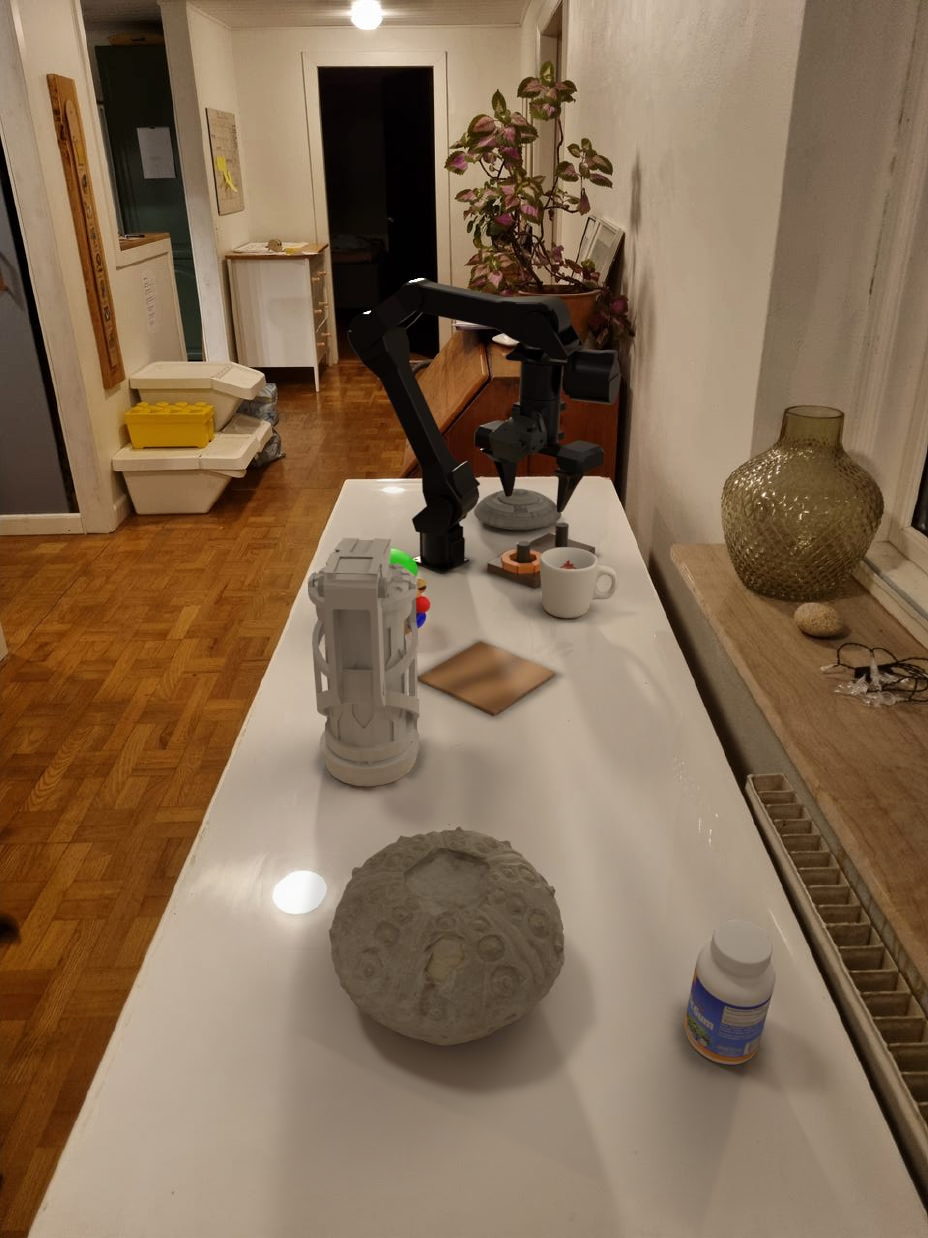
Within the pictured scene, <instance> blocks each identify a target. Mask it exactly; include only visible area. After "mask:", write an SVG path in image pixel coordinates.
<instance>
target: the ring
mask: <svg viewBox="0 0 928 1238" xmlns="http://www.w3.org/2000/svg"><path fill="white" fill-rule="evenodd" d="M541 555H542V553H539V552H536V551H533V550H530V560H531V561H534V562H532V563H517V562H514V561H513V560H515V559H516V557H517V548H515V549H510V550H507V551H505V552H503V553H502V554H501V555H500V556H501V564H502V567H503V568H504V569H505V570H508V571H511V572H514V573H517V572H518V574H525V573H533V572H534V573H536V572H538V571H540V556H541Z"/></svg>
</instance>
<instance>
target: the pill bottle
mask: <svg viewBox="0 0 928 1238" xmlns="http://www.w3.org/2000/svg"><path fill="white" fill-rule="evenodd" d="M772 955H773V943H772V940H771V938H770V936H769V935H768V933H767V932H766V931H765V930H764V929H763V928H761V927H759V926H758V925H757V924H755V923H753V922H750V921H748V920H744V919H739V918H736V919H735V918H734V919H727V920H724V921H722V922H720V923H719V924H717V925H716V926H715V928H714V930H713V933H712V937H711V940H710V941H708V942H707V943H705V944H704V945H703V946H702V947H701V949H700V951H699V952H698V955H697V958H696V961H695V966H694V972H693V976H692V982H691V987H690V992H689V997H688V1002H687V1008H686V1014H685V1019H684V1029H685V1034H686V1037H687V1039H688V1041H689V1043H690V1044H691V1046H692V1047H693V1048H694V1049H695V1050H696V1051H697V1052H698V1053H699V1054H700V1055H702V1056H703V1057H705V1058H706V1059H708V1060H710V1061H713V1062H715V1063H719V1064H724V1065H730V1066H731V1065H740V1064H743V1063H746V1062H748V1061H749V1060H750V1059H752V1058H753V1057H754V1056H755V1055H756V1053H757V1052H758V1049H759V1046H760V1043H761V1039H762V1035H763V1031H764V1027H765V1023H766V1021H767V1020H766V1019H767V1015H768V1013H769V1008H770V1004H771V1001H772V997H773V993H774V989H775V985H776V971H775V967H774V965H773V963H772V961H771V960H772Z"/></svg>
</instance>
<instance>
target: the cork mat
mask: <svg viewBox="0 0 928 1238" xmlns="http://www.w3.org/2000/svg"><path fill="white" fill-rule="evenodd" d="M555 676H556V672H555V671H553V670H551V669H549V668H547V667H544V666H542V665H539V664H537V663H534V662H531V661H530V660H527V659H524V658H522V657H520V656H517V655H515V654H512V653H511V652H508V651H506V650H503V649H501V648H498V647H496V646H493V645H491V644H488V643H486V642H484V641H481V640H479V641H478V642H475V643H474V644H473V645H471V646H469V647H467V648H465V649H464V650H462V651H460V652H459V653H457V654H455V655H453V656H451V657H450V658H448V659H446V660H445V661H443V662H441V663H439V664H438V665H436V666H434V667H432V668H430V669H428V670H427V671H426V672H424V673H421V674H420V675H417V681H420V682H422V683H424V684H426V685H428V686H430V687H433V688H435V689H437V690H438V691H441V692H444V693H445V694H448V695H450V696H451V697H454V698H456V699H458V700H460V701H463V702H464V703H466V704H469V705H471V706H472V707H476V708H477V709H480V710H481V711H483V712H486V713H488V714H491V715H492V716H496V715H498V714H500V713H501V712H502V711H504V710H505V709H507V708H508V707H510V706H511V705H513V704H514V703H516V702H517V701H519V700H520V699H522V698H523V697H525V696H526V695H528V694H530V692H533V690H535V689H536V688H538V687H540V686H541V685H543V684H544V683H546V682H547V681H549V680H550V679H551V678H553V677H555Z"/></svg>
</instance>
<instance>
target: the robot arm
mask: <svg viewBox="0 0 928 1238" xmlns="http://www.w3.org/2000/svg"><path fill="white" fill-rule="evenodd" d="M422 314H425V315H430V316H436V317H440V318H445V319H448V320H449V319H450V320H454V321H459V322H463V323H469V324H473V325H476V326H477V325H478V326H482V327H486V328H491V329H494V330H497V331H498V332H501V334H504V335H505V336H506V337H508V338H510V339H511V340H513V341H516V342H517V343H516V345H515V347H514V348H513V349H511V351H510V352H508V353H507V354H505V360H506V361H512V362H519V363H520V371H519V374H520V375H519V394H518V401H517V402H514V403H512V407H511V411H510V416H509V418H508V419H506V420H504V421H503V420H499V419H497V420H493V421H491V422H488V423H484V424H482V425H479V426H478V427H477V428H476V429H475V432H474V433H473V435H474V437H473V446H474V447H477V448H480V452H481V453H482V454H483V455H486V456H487V457H488V458H489V459H490V460H492V462H493V463H494V466H495V469H496V471H497V474H498V477H499V480H500V483H501V486H502V490H504V493H505V496H506V497H510V496H512V493H513V489H515V484H516V478H517V470H518V463H520V462H522V461H523V460H524V459H525V458H526V456H527V455H530V456H535V455H536V454H540V455H545V456H549V457H553V458H555V459H556V460H555V463H556V465H557V467H558V468H557V469H555V470H553V471H554V473H555V475H556V477H557V480H558V481H557V492H556V493H557V494H556V505H557V512H558V513H560V512H561V513H563V512H564V511H565V509H566V507H567V505H568V503H569V501H570V499H571V498H572V496H573V495H574V492H575V491H576V489H577V487H578V485H579V483H580V482H581V480H583V478H584V476H585V475H586V473H589V472H591V471H593V470H595V469H597V468H600V467H602V466H604V460H605V459H604V458H605V452H604V449H603V448H602V446H601V445H600V444H596V443H593V442H588V441H584V440H580V439H579V440H576V441H574V442H570V443H568V444H562V443H559V441H561V440H564V438H565V431H562V430H560V419H561V412H562V411H565V410H567V401H562V390H563V392H564V396H568V397H569V399H570V400H571V401H578V402H583V403H584V402H585V403H594V404H601V405H610V406H612V405H614V404H615V402H616V401H617V398H618V395H619V390H620V386H621V381H622V373H620V370H621V369H620V368H621V367H620V362H619V360H618V356H619V351H618V350H615V349H605V350H598V349H588V348H586V345H585V343H584V341H583V340H582V338H581V337H580V335H579V333H578V331H577V329H576V328H575V326H574V325H573V323H572V315H571V310H570V308H569V306H568V305H567V303H566V301H564V300H563V299H562V298H560V297H558V296H554V295H525V296H524V295H523V296H502V295H497V294H493V293H488V292H483V291H480V290H479V291H478V290H473V289H469V288H464V287H459V286H454V285H449V284H444V283H440V282H434V281H432V280H429V279H427V278H417V279H414V280H410V281H406V282H405V283H403V285H401V287H400V288H399V289H398V290H397V291H395V292H394V293H393V294H392V295H390V296H389V297H388V298H386V299H385V300H383V301H382V302H381V303H379V304H378V305H376V306H374V307H373V308H372V309H371V310H369V311H366V312H362V313H359V314H356V315H355V316H354V317H352V319H351V321H350V322H349V325H348V329H347V331H346V334H347V340H348V343H349V344H350V346H351V348H352V349H353V352H355V354H356V356H357V357H358V359H359V360H360V361H361V364H363V365H364V367H366V368H367V369H368V370H369V371H370V372H372V374H374V375H375V376H376V377H377V379H379V381H380V382H381V385H382V387H383V390H384V391H385V393H386V395H387V398H388V400H389V402H390V404H391V406H392V409H393V411H394V413H395V416H396V417H397V419H398V421H399V424H400V426H401V429H402V430H403V432H404V435H405V437H406V439H407V441H408V443H409V445H410V447H411V449H412V452H413V454H414V456H415V458H416V461H417V462H418V465H419V467H420V470H421V489H422V490H421V491H422V495H423V499H424V502H425V507H424V508H423V509H421V510H420V511H419V512H418V513H417V514H416V515H414V516H413V517H412V518H411V522H412V525H413V527H414V530H415V532H416V533H418V534H419V555H418V556H416V557H414V558H412V559H413V560H415V562H416V565H419V566H421V567H425V568H427V569H430V570H432V571H435V572H437V573H441V574H445V573H448V572H449V571H452V570H454V569H456V568H458V567H461V566H462V565H464V564H467V563H469V562H470V557H468V556H466V537H464V526H463V525H461V524H460V522H462V521H463V520H465V519H466V518H467V516H468V514H469V513H470V512H471V511H472V510H474V509H475V508H476V506H477V505H478V503H479V502H478V501H479V499H480V491H479V487H480V485H481V482H480V481H479V480H477V478H476V476H475V475H474V472H473V467H472V465H471V463H470V461H469V460H466V461H464V462H462V463H461V462H459V461H458V460H457V459H456V458H454V456H453V455H452V454H451V453H450V450H449V448H448V446H447V443H446V441H445V439H444V437H443V435H442V432H441V430H440V428H439V426H438V424H437V422H436V420H435V418H434V415H433V413H432V410H431V408H430V406H429V404H428V401H427V400H426V398H425V395H424V393H423V391H422V389H421V386H420V384H419V381H418V379H417V377H416V375H415V373H414V371H413V369H412V366H411V361H410V360H411V357H410V356H411V355H410V341H409V337H408V334H407V331H406V330H407V329H408V328H409V327H410V326H411V325H412V324H414V323H415V322H416V321H417V319H419V318H420V316H421V315H422Z"/></svg>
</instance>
